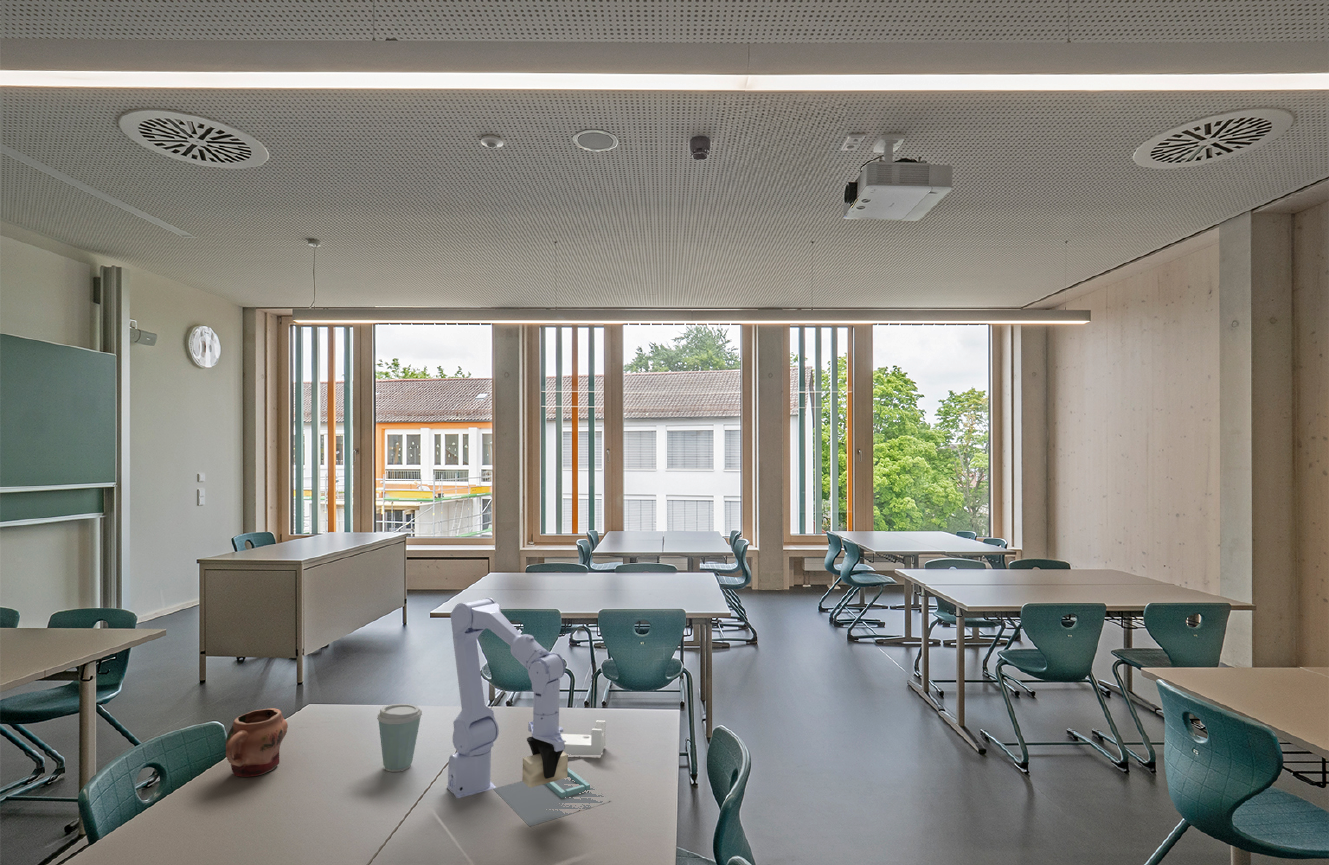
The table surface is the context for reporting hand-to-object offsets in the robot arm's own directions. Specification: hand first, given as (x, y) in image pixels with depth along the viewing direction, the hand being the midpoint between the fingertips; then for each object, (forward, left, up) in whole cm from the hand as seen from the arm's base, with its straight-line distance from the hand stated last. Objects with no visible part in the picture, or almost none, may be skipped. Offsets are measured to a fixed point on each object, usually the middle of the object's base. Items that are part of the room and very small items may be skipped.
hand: (545, 773), depth 154 cm
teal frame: (+10, +9, -9) cm, 16 cm away
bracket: (+22, +26, -9) cm, 35 cm away
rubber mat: (+5, +6, -9) cm, 11 cm away
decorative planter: (-51, +59, -9) cm, 79 cm away
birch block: (0, 0, -1) cm, 1 cm away
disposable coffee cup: (-20, +42, -9) cm, 48 cm away
